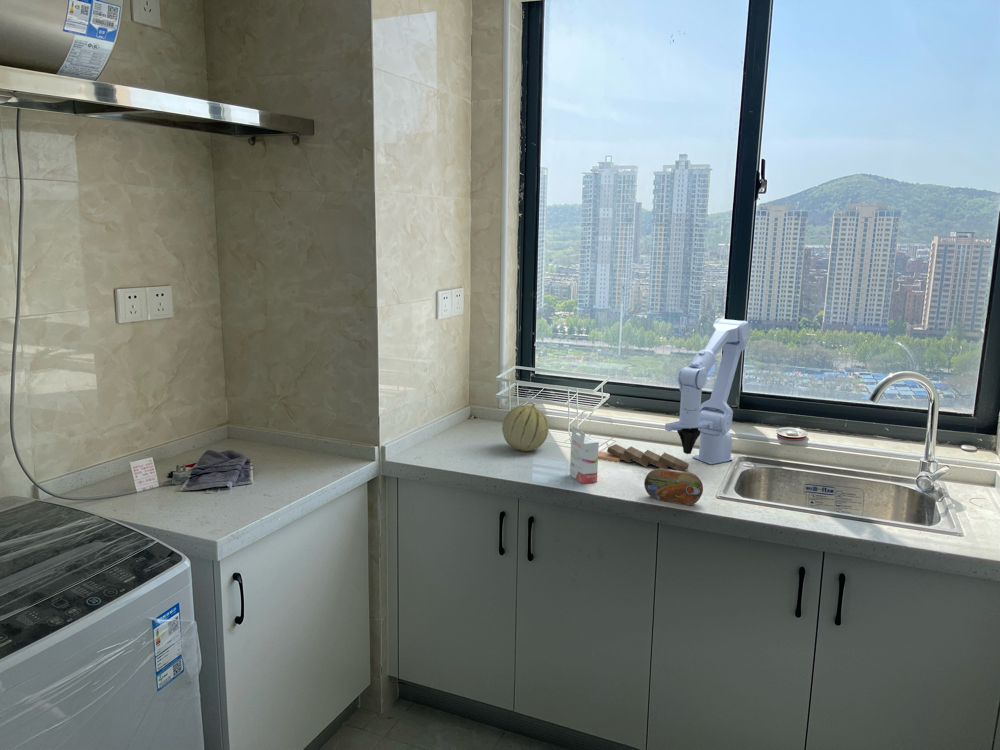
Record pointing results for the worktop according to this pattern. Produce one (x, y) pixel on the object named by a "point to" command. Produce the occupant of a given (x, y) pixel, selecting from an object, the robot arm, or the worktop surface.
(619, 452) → the domino
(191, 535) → the worktop surface
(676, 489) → the tin
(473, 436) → the worktop surface
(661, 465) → the domino
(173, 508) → the worktop surface
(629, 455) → the domino
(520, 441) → the cantaloupe
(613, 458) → the domino
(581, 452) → the ink cartridge box
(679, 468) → the domino
